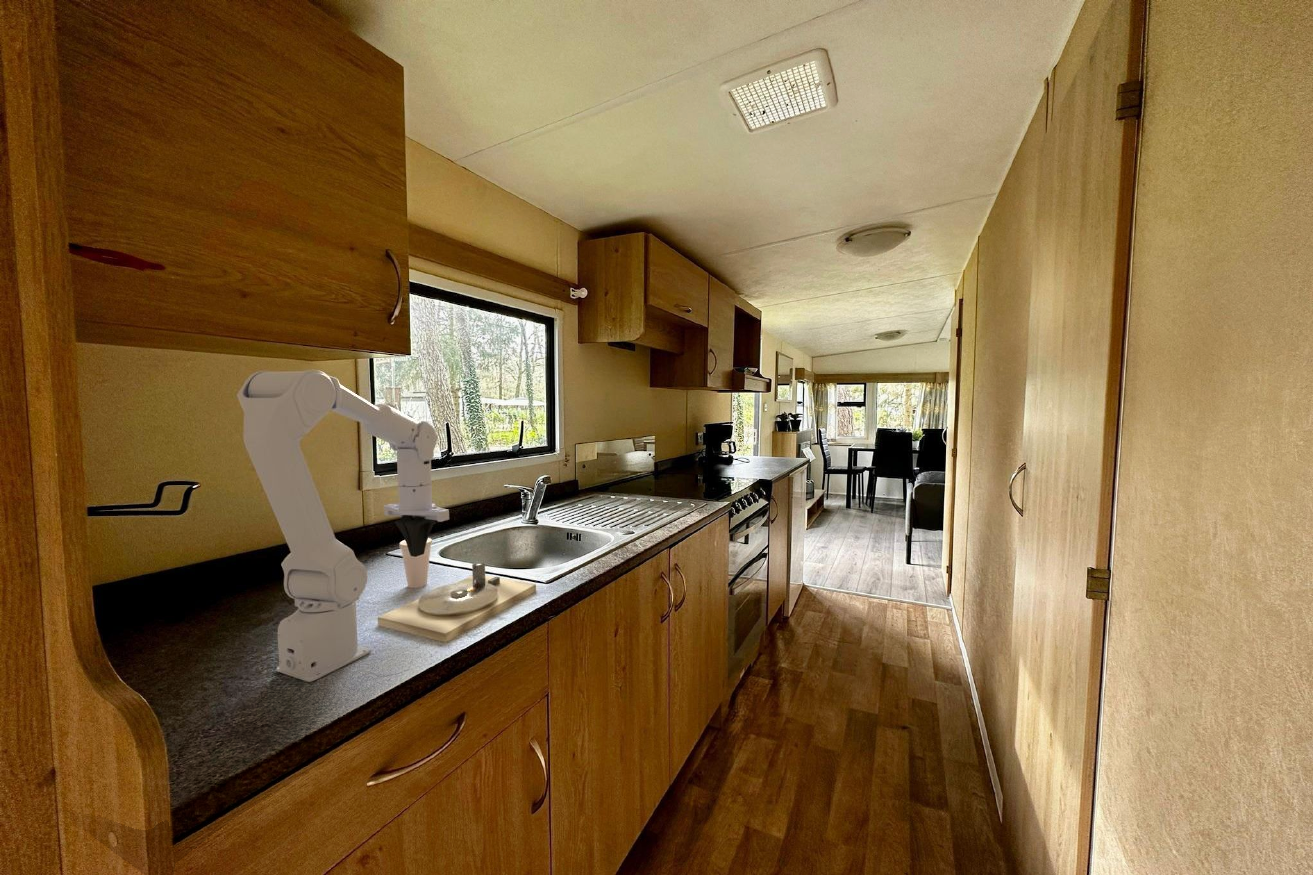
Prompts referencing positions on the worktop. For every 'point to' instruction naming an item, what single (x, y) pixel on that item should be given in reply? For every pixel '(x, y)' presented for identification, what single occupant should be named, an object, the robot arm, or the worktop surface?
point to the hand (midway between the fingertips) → (417, 555)
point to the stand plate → (452, 626)
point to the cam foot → (460, 596)
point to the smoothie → (416, 565)
